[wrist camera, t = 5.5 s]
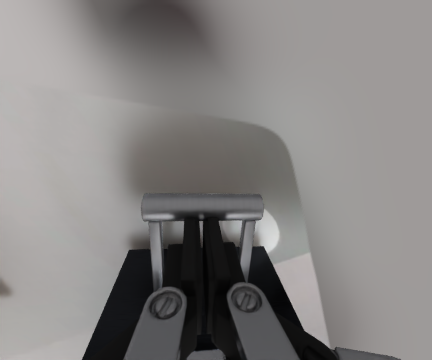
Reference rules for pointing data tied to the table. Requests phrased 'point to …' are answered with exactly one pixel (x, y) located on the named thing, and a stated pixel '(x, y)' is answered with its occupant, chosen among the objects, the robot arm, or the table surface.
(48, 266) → the table surface
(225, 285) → the robot arm
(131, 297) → the drawer with silver handle
